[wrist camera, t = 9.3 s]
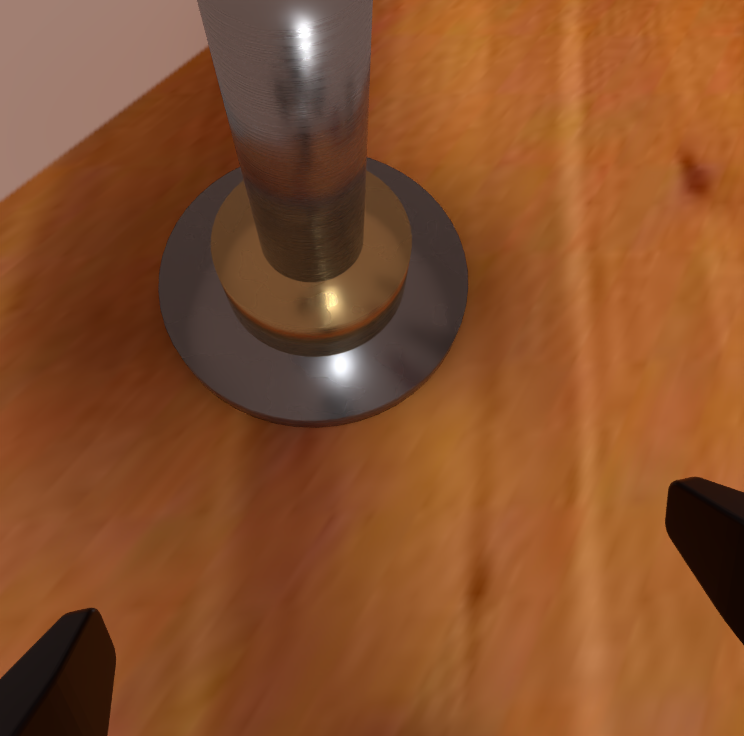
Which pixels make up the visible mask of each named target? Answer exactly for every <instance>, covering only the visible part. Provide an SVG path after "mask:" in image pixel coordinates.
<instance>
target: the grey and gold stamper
mask: <svg viewBox="0 0 744 736" xmlns="http://www.w3.org/2000/svg"><path fill="white" fill-rule="evenodd" d="M197 1H198V5H199V9H200V13H201V17H202V21H203V25H204V28H205V32H206V36H207V40H208V44H209V48H210V52H211V56H212V59H213V63H214V67H215V71H216V75H217V79H218V83H219V87H220V90H221V94H222V98H223V102H224V106H225V110H226V114H227V117H228V121H229V125H230V129H231V133H232V137H233V141H234V144H235V148H236V152H237V156H238V160H239V164H240V168H241V172H242V175H243V179H244V180H243V181H242V182H241V183H240V184H239V185H237V186H236V187H235V188H234V189H233V191H232V192H231V193H230V194H229V195H228V196H227V198H226V199H225V201H224V202H223V204H222V205H221V207H220V209H219V211H218V213H217V215H216V218H215V221H214V224H213V227H212V234H211V254H212V260H213V263H214V266H215V269H216V272H217V275H218V277H219V280H220V282H221V284H222V287H223V289H224V292H225V294H226V296H227V299H228V301H229V303H230V306H231V308H232V310H233V312H234V314H235V316H236V317H237V319H238V320H239V321H240V323H241V324H242V325H243V326H244V328H245V329H246V330H247V331H248V332H249V333H250V334H252V335H253V336H254V337H255V338H257V339H258V340H259V341H261V342H263V343H264V344H266V345H268V346H269V347H272V348H274V349H276V350H279V351H281V352H285V353H288V354H292V355H298V356H304V357H322V356H331V355H336V354H341V353H344V352H347V351H350V350H353V349H355V348H357V347H359V346H361V345H363V344H365V343H366V342H368V341H369V340H371V339H372V338H374V337H375V336H376V335H377V334H379V333H380V332H381V331H382V330H383V329H384V328H385V327H386V326H387V324H388V323H389V322H390V321H391V319H392V318H393V316H394V315H395V313H396V312H397V310H398V308H399V305H400V303H401V300H402V297H403V294H404V289H405V284H406V278H407V273H408V267H409V261H410V255H411V249H412V234H411V227H410V223H409V220H408V216H407V214H406V211H405V209H404V207H403V205H402V203H401V202H400V200H399V199H398V198H397V196H396V195H395V193H394V192H393V191H392V190H391V189H390V188H389V187H388V186H387V185H386V184H385V183H384V182H383V181H381V180H380V179H379V178H378V177H376V176H375V175H373V174H372V173H370V172H368V171H366V161H367V134H368V108H369V81H370V55H371V29H372V2H373V0H197Z"/></svg>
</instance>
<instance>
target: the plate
mask: <svg viewBox="0 0 744 736" xmlns="http://www.w3.org/2000/svg"><path fill="white" fill-rule="evenodd" d="M366 171H368V172H370V173H372V174H373V175H375V176H376V177H378V178H379V179H380V180H381V181H383V182H384V183H385V184H386V185H387V186H388V187H389V188H390V189H391V190H392V191H393V192H394V193H395V195H396V196H397V198H398V199H399V200H400V202H401V203H402V205H403V207H404V209H405V211H406V214H407V216H408V220H409V223H410V227H411V234H412V249H411V255H410V261H409V267H408V273H407V278H406V284H405V289H404V294H403V297H402V300H401V303H400V305H399V308H398V310H397V312H396V313H395V315H394V316H393V318H392V319H391V321H390V322H389V323H388V324H387V326H386V327H385V328H384V329H383V330H382V331H381V332H380V333H379V334H377V335H376V336H375V337H374V338H372V339H371V340H369V341H368V342H366V343H365V344H363V345H361V346H359V347H357V348H355V349H353V350H350V351H347V352H344V353H341V354H336V355H331V356H322V357H304V356H298V355H292V354H288V353H285V352H281V351H279V350H276V349H274V348H272V347H269V346H268V345H266V344H264V343H263V342H261V341H259V340H258V339H257V338H255V337H254V336H253V335H252V334H250V333H249V332H248V331H247V330H246V329H245V328H244V326H243V325H242V324H241V323H240V321H239V320H238V319H237V317H236V316H235V314H234V312H233V310H232V308H231V306H230V303H229V301H228V299H227V296H226V294H225V292H224V289H223V287H222V284H221V282H220V280H219V277H218V275H217V272H216V269H215V266H214V263H213V260H212V254H211V234H212V227H213V224H214V221H215V218H216V215H217V213H218V211H219V209H220V207H221V205H222V204H223V202H224V201H225V199H226V198H227V196H228V195H229V194H230V193H231V192H232V191H233V189H234V188H235V187H236V186H237V185H239V184H240V183H241V182H242V181H243V180H244V179H243V175H242V172H241V168H240V167H239V168H237V169H235V170H233V171H231V172H229V173H227V174H226V175H224V176H223V177H221V178H220V179H218V180H217V181H215V182H214V183H212V184H211V185H210V186H209V187H208V188H207V189H205V190H204V191H203V192H202V193H201V194H200V195H199V196H198V197H197V198H196V199H195V200H194V201H193V202H192V203H191V204H190V205H189V207H188V208H187V209H186V210H185V212H184V213H183V215H182V216H181V217H180V219H179V220H178V222H177V223H176V225H175V227H174V229H173V231H172V233H171V235H170V237H169V239H168V242H167V244H166V247H165V250H164V253H163V256H162V261H161V267H160V272H159V300H160V308H161V313H162V316H163V320H164V323H165V327H166V329H167V332H168V334H169V336H170V338H171V340H172V343H173V345H174V346H175V348H176V349H177V351H178V352H179V354H180V356H181V357H182V359H183V360H184V362H185V363H186V364H187V366H188V367H189V369H190V370H191V371H192V372H193V374H194V375H195V376H196V377H197V378H198V379H199V380H200V381H201V383H202V384H203V385H204V386H205V387H207V388H208V389H209V390H210V391H211V392H212V393H214V394H215V395H216V396H217V397H218V398H220V399H221V400H223V401H225V402H226V403H228V404H229V405H231V406H232V407H234V408H236V409H238V410H240V411H242V412H244V413H247V414H249V415H251V416H253V417H256V418H259V419H262V420H266V421H269V422H272V423H276V424H282V425H288V426H294V427H315V428H317V427H329V426H339V425H344V424H348V423H353V422H357V421H361V420H363V419H366V418H369V417H372V416H375V415H378V414H380V413H382V412H384V411H386V410H388V409H390V408H392V407H394V406H396V405H397V404H399V403H400V402H402V401H403V400H405V399H406V398H407V397H409V396H410V395H412V394H413V393H414V392H415V391H417V390H418V389H419V388H420V387H421V386H422V385H423V384H424V383H425V382H427V381H428V379H429V378H430V377H431V376H432V375H433V373H434V372H435V371H436V370H437V369H438V368H439V366H440V365H441V363H442V362H443V360H444V358H445V357H446V355H447V354H448V352H449V350H450V348H451V346H452V344H453V341H454V339H455V337H456V334H457V332H458V330H459V327H460V325H461V322H462V319H463V315H464V311H465V307H466V302H467V293H468V270H467V265H466V259H465V254H464V250H463V247H462V244H461V242H460V239H459V236H458V234H457V232H456V230H455V228H454V226H453V224H452V222H451V220H450V219H449V217H448V216H447V215H446V213H445V212H444V210H443V209H442V207H441V206H440V205H439V204H438V203H437V202H436V201H435V199H434V198H433V197H432V196H431V195H430V194H429V193H428V192H427V191H426V190H424V189H423V188H422V187H421V186H420V185H419V184H418V183H416V182H415V181H413V180H412V179H410V178H409V177H407V176H406V175H405V174H403V173H401V172H400V171H398V170H396V169H394V168H392V167H390V166H388V165H386V164H383V163H381V162H378V161H376V160H373V159H371V158H367V161H366Z"/></svg>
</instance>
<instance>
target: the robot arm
mask: <svg viewBox="0 0 744 736" xmlns="http://www.w3.org/2000/svg"><path fill="white" fill-rule="evenodd" d="M665 525H666V530H667V533H668V535H669V537H670V539H671V540H672V542H673V543H674V545H675V546H676V548H677V550H678V551H679V553H680V554H681V556H682V557H683V559H684V560H685V562H686V563H687V565H688V566H689V568H690V569H691V571H692V572H693V574H694V575H695V577H696V579H697V580H698V582H699V583H700V585H701V586H702V588H703V589H704V591H705V592H706V594H707V595H708V597H709V598H710V600H711V601H712V603H713V604H714V606H715V607H716V609H717V610H718V612H719V613H720V615H721V616H722V617H723V619H724V620H725V622H726V623H727V624H728V626H729V627H730V628H731V629H732V631H733V632H734V633H735V635H736V636H737V637H738V638H739V640H740V641H741V642H742V643H743V645H744V492H741V491H738V490H735V489H732V488H729V487H726V486H723V485H720V484H717V483H715V482H712V481H709V480H706V479H703V478H700V477H690V478H685V479H680V480H676V481H674V482H672V483H671V484H670V486H669V489H668V497H667V507H666V517H665ZM115 667H116V654H115V648H114V645H113V643H112V640H111V638H110V636H109V633H108V631H107V628H106V626H105V624H104V621H103V619H102V616H101V614H100V613H99V611H98V610H97V609H95V608H87V609H82V610H77V611H73V612H69V613H66V614H65V615H63V616H62V617H61V618H60V619H59V620H58V621H57V622H56V623H55V624H54V625H53V626H52V627H51V628H50V629H49V630H48V631H47V632H46V633H45V634H44V635H43V636H42V637H41V638H40V639H39V640H38V641H37V642H36V643H35V644H34V645H33V646H32V647H31V648H30V649H29V650H28V651H27V652H26V653H25V654H24V655H23V656H22V657H21V658H20V659H19V660H18V661H17V662H16V663H15V664H14V665H13V666H12V667H11V668H10V669H9V670H8V671H7V673H6V674H5V675H4V676H3V677H2V678H1V679H0V736H107V735H108V727H109V718H110V710H111V701H112V692H113V684H114V675H115Z"/></svg>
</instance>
